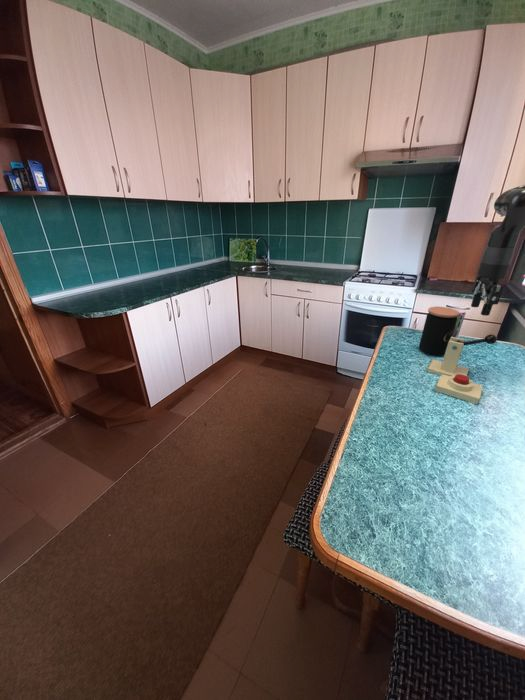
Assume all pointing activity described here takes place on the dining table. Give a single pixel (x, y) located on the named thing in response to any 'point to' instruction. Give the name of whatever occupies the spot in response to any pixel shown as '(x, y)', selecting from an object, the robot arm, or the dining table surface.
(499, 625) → the dining table surface
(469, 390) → the button block
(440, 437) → the dining table surface
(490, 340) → the black lever
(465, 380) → the button
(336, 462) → the dining table surface
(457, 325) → the candy bar box
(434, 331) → the coffee jar
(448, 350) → the lever base
